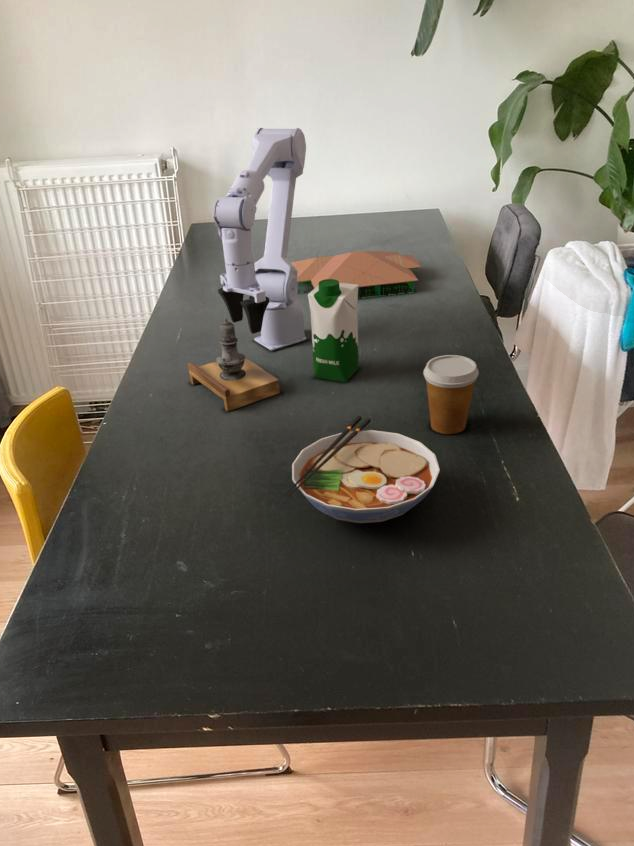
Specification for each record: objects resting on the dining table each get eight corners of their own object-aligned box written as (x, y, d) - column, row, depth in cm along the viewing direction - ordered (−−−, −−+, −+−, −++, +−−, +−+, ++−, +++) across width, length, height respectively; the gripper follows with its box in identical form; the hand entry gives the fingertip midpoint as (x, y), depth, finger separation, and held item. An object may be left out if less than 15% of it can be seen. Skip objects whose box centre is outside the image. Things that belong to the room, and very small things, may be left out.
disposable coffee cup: (478, 416, 149) (483, 356, 142) (470, 441, 142) (474, 380, 135) (427, 410, 152) (429, 351, 145) (416, 435, 145) (418, 374, 138)
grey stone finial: (243, 381, 160) (236, 324, 153) (214, 380, 161) (206, 324, 154) (250, 368, 165) (244, 312, 158) (222, 367, 166) (215, 312, 159)
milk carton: (308, 379, 166) (302, 284, 154) (326, 361, 172) (321, 269, 161) (348, 385, 162) (345, 289, 151) (364, 366, 169) (362, 272, 157)
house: (428, 291, 201) (429, 259, 197) (298, 306, 199) (296, 273, 194) (407, 262, 220) (407, 232, 215) (287, 275, 218) (285, 244, 213)
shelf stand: (240, 366, 173) (238, 347, 170) (279, 393, 162) (278, 372, 159) (190, 383, 168) (187, 363, 165) (227, 411, 157) (224, 390, 154)
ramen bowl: (394, 572, 114) (394, 526, 110) (262, 528, 125) (257, 484, 120) (464, 485, 131) (467, 441, 126) (342, 452, 142) (340, 411, 137)
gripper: (204, 256, 161) (212, 321, 169) (240, 275, 151) (247, 342, 159) (234, 248, 164) (241, 312, 172) (272, 266, 154) (277, 333, 162)
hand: (246, 326), depth 166 cm, fingers open, 7 cm apart
